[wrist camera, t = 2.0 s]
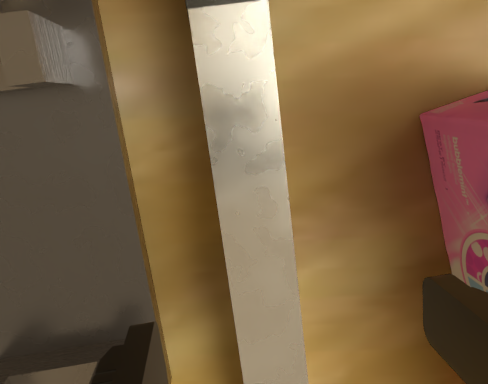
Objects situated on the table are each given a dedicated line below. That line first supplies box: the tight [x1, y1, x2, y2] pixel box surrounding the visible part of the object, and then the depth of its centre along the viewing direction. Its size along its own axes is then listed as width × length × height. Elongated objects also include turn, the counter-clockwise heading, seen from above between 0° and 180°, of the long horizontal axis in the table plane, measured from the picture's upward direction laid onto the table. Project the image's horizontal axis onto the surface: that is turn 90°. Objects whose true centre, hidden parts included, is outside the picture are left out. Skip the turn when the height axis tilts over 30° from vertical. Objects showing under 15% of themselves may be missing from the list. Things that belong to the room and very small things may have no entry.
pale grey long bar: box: [185, 0, 308, 384], centre depth 25 cm, size 4×30×4 cm, turn 7°
